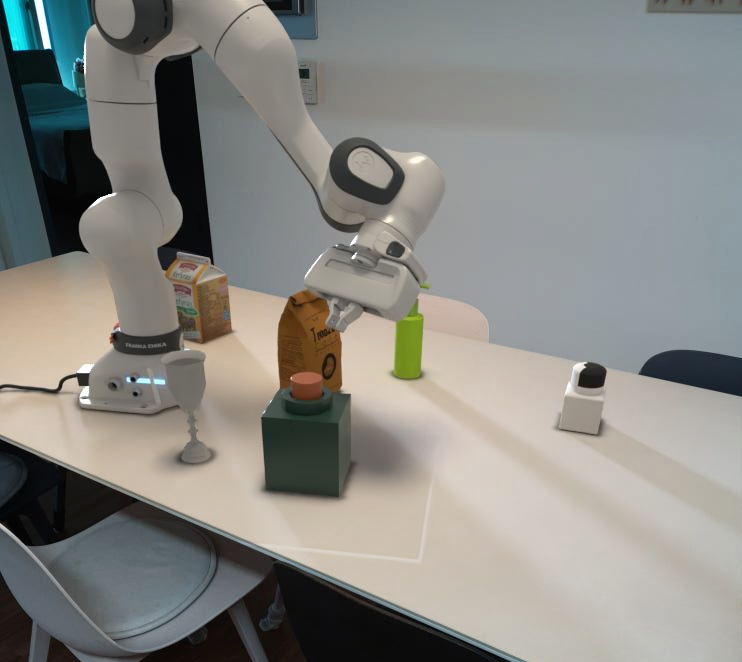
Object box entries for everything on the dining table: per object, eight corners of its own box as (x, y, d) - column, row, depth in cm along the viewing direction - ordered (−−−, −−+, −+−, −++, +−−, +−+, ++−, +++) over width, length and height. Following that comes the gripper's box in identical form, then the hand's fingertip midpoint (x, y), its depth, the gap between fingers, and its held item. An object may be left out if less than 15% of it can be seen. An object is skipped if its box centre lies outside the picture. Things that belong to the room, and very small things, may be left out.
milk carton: (232, 331, 181) (225, 253, 171) (202, 343, 173) (193, 262, 163) (201, 323, 186) (192, 247, 176) (170, 335, 178) (160, 256, 168)
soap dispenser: (423, 380, 156) (428, 288, 145) (391, 377, 157) (394, 285, 147) (426, 370, 161) (432, 280, 150) (396, 367, 162) (399, 278, 151)
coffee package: (349, 392, 150) (350, 286, 138) (309, 412, 141) (306, 300, 130) (314, 380, 155) (311, 277, 143) (273, 398, 146) (266, 290, 135)
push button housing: (265, 489, 116) (259, 404, 108) (282, 457, 125) (278, 376, 117) (339, 496, 115) (338, 410, 107) (350, 463, 124) (351, 382, 116)
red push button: (288, 400, 111) (287, 382, 109) (295, 388, 115) (295, 370, 113) (319, 402, 110) (318, 384, 108) (325, 390, 114) (324, 373, 113)
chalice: (195, 470, 121) (182, 369, 112) (166, 459, 124) (151, 360, 115) (225, 452, 126) (215, 355, 117) (196, 442, 129) (184, 346, 120)
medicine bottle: (599, 420, 141) (611, 361, 134) (597, 435, 135) (609, 375, 129) (562, 414, 143) (572, 356, 136) (558, 429, 137) (568, 369, 130)
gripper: (322, 229, 115) (278, 302, 115) (419, 252, 103) (370, 334, 103) (342, 253, 121) (300, 323, 120) (436, 278, 109) (390, 356, 108)
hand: (333, 328), depth 111 cm, fingers closed
